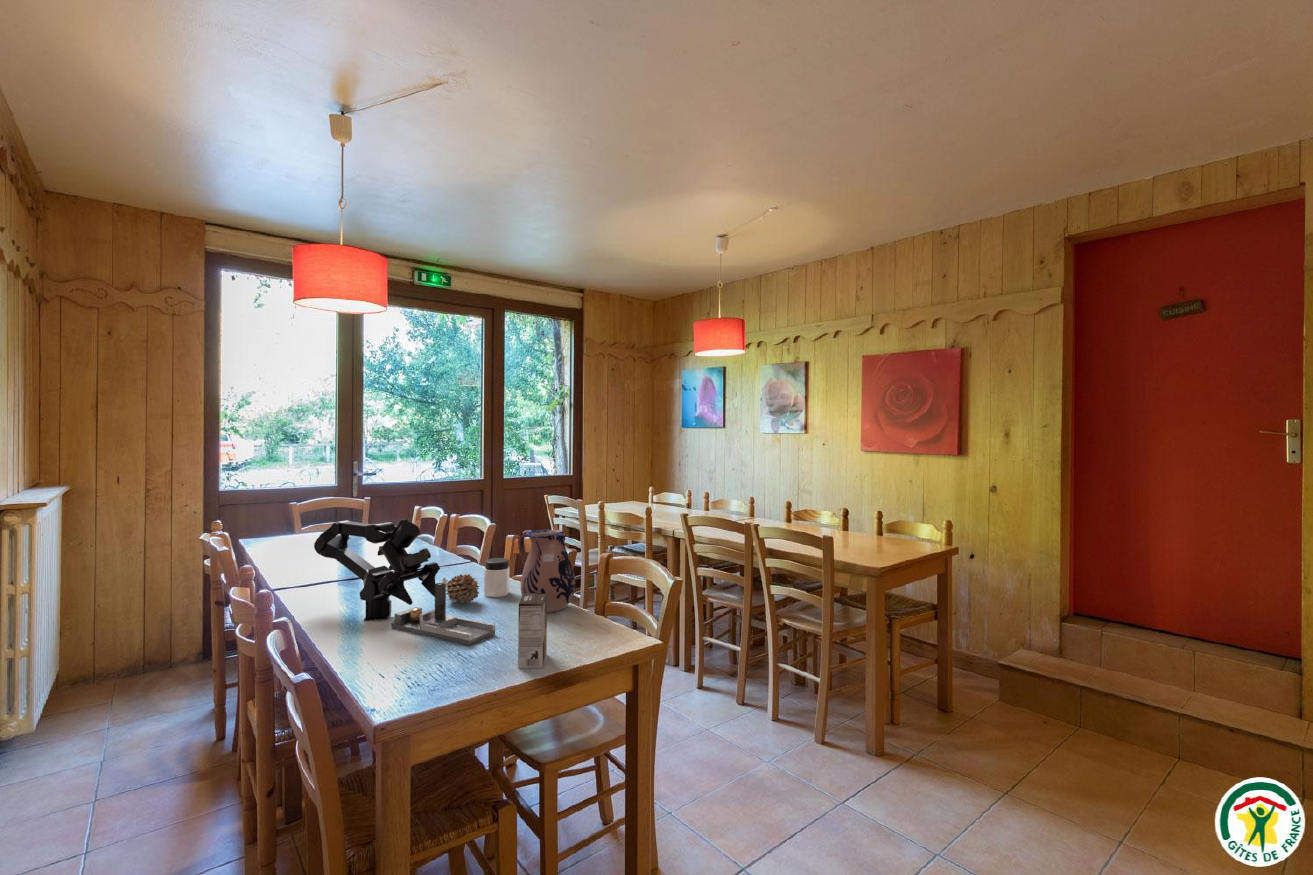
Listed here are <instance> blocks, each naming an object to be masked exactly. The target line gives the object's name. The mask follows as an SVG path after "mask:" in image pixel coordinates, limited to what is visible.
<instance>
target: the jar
mask: <svg viewBox="0 0 1313 875" xmlns="http://www.w3.org/2000/svg"><path fill="white" fill-rule="evenodd" d="M484 566H485V567H484V571H483V572H484V573H483V574H484V578H483V579H484V585H483V586H484V588H483V589H484V590H483V596H484V597H490V598H494V597H495V598H500V597H501V598H502V597H506V596H508V595H509V593H510V560H509V558H504V557H494V558H487V559H486V560H485V561H484Z"/></svg>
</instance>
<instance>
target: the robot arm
mask: <svg viewBox="0 0 1313 875" xmlns="http://www.w3.org/2000/svg"><path fill="white" fill-rule="evenodd" d="M420 534H421V530H420V528H419V526H418V525H416V524H415V523H413V522H410V521H409V520H408V519H406V518H405V519H401V520H400V521H399V522H398V524H397V526H396V525H395V523H394V522H391V521H389V522H381V523H380V522H379V523H374V524H372V523H365V522H359V521H351V520H341V521H335V522H333V523H331V525H330V527H329V528H327V529H326V530H325V531H323V532H322V533H321V534H320V535H319V536H318V537H317V538H316V540H315V541H314V543H313V548H314V550H315V552H316V553H317V554H318V555H319V556H322V557H324V558H328V559H334V560H336V562H338V563H340V564H341V565H342V566H344V567H345V568H346V569H348V570H349V572H352V573H353V574H354V575H355V576H357V577H358V578H359V579H360V580H361V581H362V584H363V588H362V589H361V590H360V592H359V598H360V600H361V601H365V617H364V619H363V621H364V622H366V621H367V622H368V621H385V620H388V619H389V617H390V616H391V615H392V600H390V598H391V597H390V596H392V597H394V598H397V599H398V600H400V601H402V602H403V603H406V604H408V605H409V606H412V605H413V603H414V602H413V599H412V597H411V596H410V594H409V592H408V590H407V588H406V587H405V582H406V581H410V580H414V579H418V580H419V581H421V582H420V583H421V584H420V585H422V586H423V588H425V589H426V590H427V591H428V592H429V593H430V594H431V595H432V596H433V597H434V598H435V584H436V583H437V582H436V575H437V574H438V573H439V571H440V569H441V567H440V566H439V564H438V562H434V561H433V562H430V563H426V562H429V559H430V558H431V557H432V556H431V551H430V550H429V549H428V548H422V549H420V550H419V551H418V552H413V553H412V552H410V553H408V552H407V550H406V549H408V548H409V547H411V545H412V544H413V542H414V541H415V540H416V539H417V538H418V536H420ZM350 536H352V537H358V538H363V539H365V540H366V541H367V542H370V543H372V544H380V543H381V544H382V545H380V546H379V547H378V551H377V556H380V557H381V556H384V557H385V558H386V560H387V563H388V564H389V567H388V566H386V565H382V566H378V567H375V566H374V565H372V564H371V563H370V562H368V561H367V560H366V559H364V558H363V557H361V556H360V555H359V554H357V552H355V551H354V550H352V549H351V548H349V546H348V541H350ZM383 543H384V544H383ZM423 563H426V564H424V565H423V567H422V564H423ZM421 567H422V568H421ZM420 568H421V569H420ZM418 569H419V570H418Z"/></svg>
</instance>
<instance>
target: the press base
mask: <svg viewBox="0 0 1313 875" xmlns="http://www.w3.org/2000/svg"><path fill="white" fill-rule="evenodd" d="M422 613H423V607H419V606H415V607H412V608H409V609H408V608H407V609H405V610H403V611H399V612H396V613H394V614H393V617H394V622H391V624H390V625H391V628H392V630H396V629H397V631H401V632H405V633H409V632H410V633H409V634H414V635H419V636H423V637H428V638H432V639H435V640H441V641H444V642H445V641H446V642H450V643H452V644H453V643H454V644H457V645H458V644H459V645H463V646H467V647H471V646H473V645H475V644H478V643H480V642H482V641H485V640H487V639H490V638H492V637H494V636H495V635H496V624H494V623H489V622H485V621H479V620H474V619H470V618H464V617H459V616H456V617H457V624H455V625H453V626H450V627H447V628H442V627H438V626H433V625H428V624H422V625H421V627H420V614H422ZM391 628H390V629H391Z"/></svg>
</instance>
